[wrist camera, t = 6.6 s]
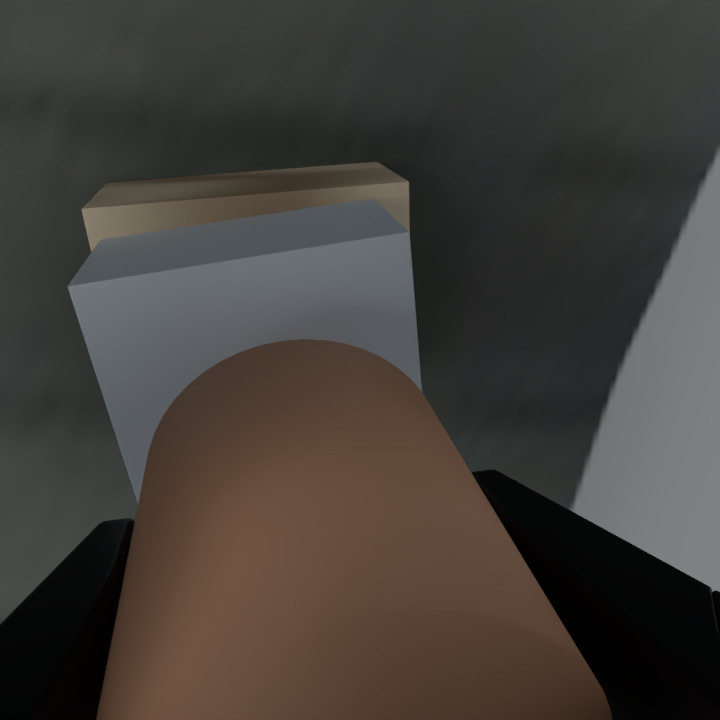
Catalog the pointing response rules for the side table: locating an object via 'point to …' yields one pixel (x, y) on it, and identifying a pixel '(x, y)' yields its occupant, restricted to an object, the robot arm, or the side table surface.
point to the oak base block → (238, 197)
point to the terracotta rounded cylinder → (327, 561)
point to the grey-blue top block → (238, 302)
